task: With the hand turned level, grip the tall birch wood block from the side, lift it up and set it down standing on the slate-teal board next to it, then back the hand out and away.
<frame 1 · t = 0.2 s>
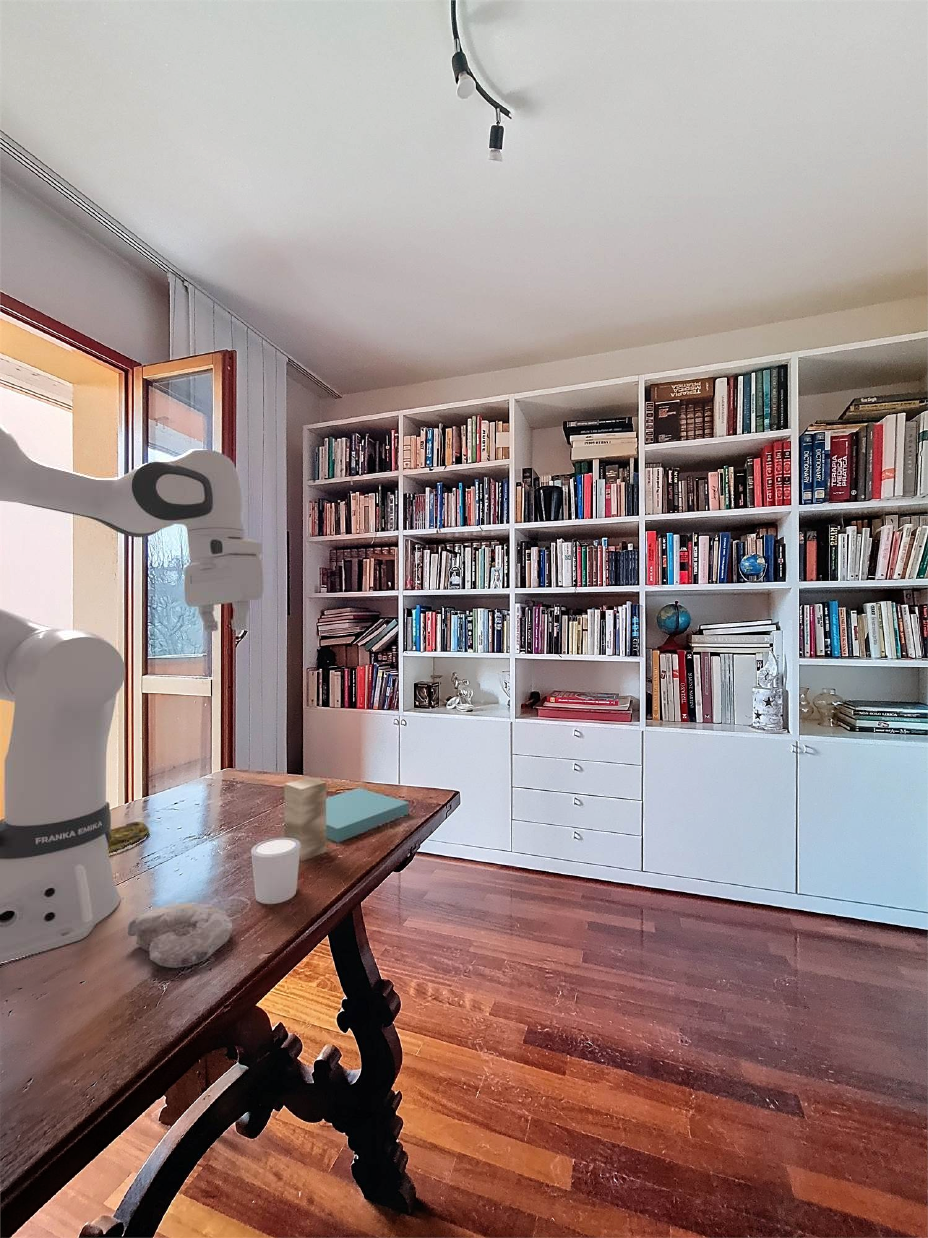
hand: (224, 630, 91), 39 cm above the table, tool pointing down, fingers open, 8 cm apart
shot glass: (276, 895, 78), on the table
teal board: (349, 818, 108), on the table
fossil: (181, 948, 66), on the table
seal: (117, 845, 97), on the table
birch block: (305, 852, 92), on the table
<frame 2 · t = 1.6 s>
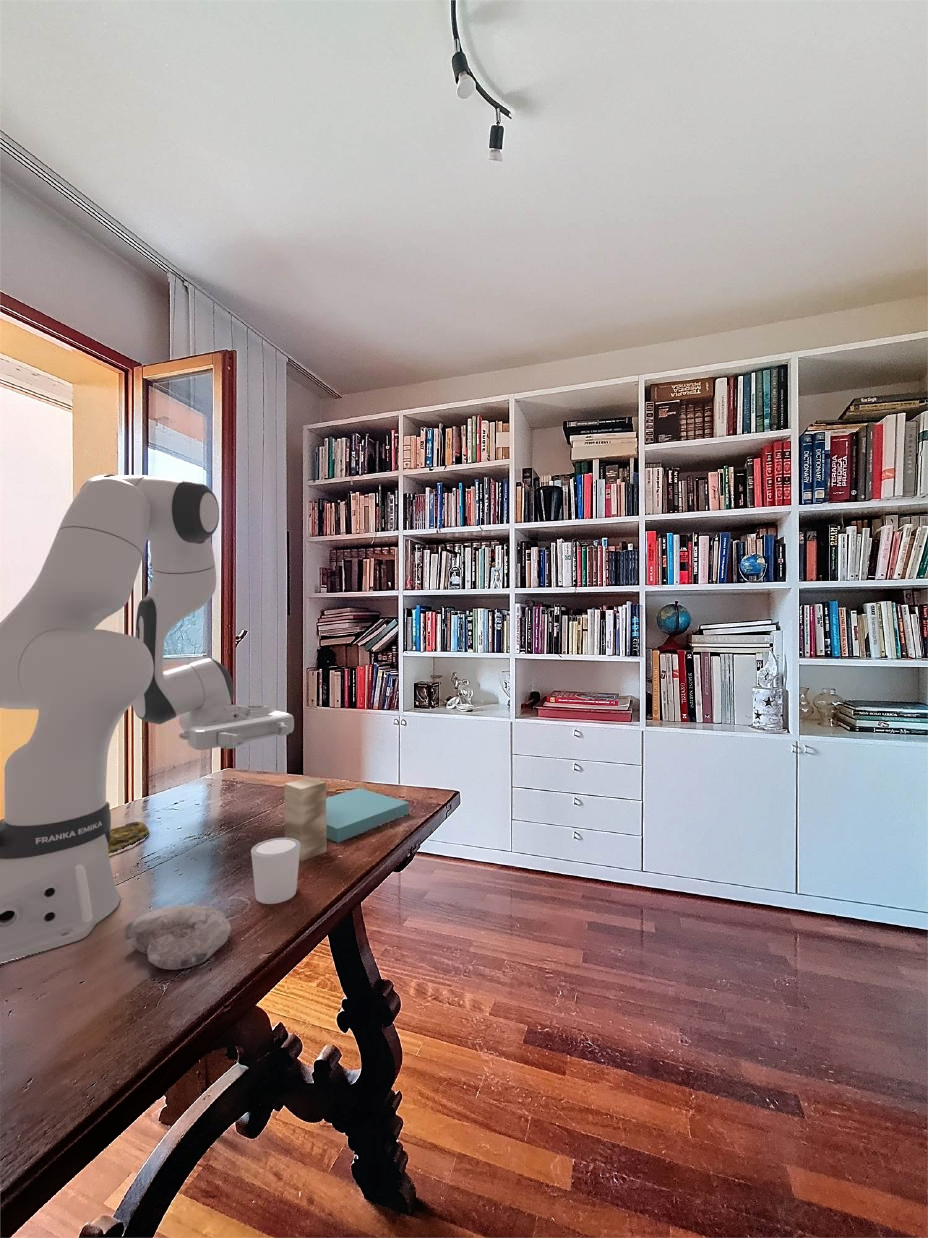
hand: (263, 735, 102), 18 cm above the table, tool horizontal, fingers open, 8 cm apart
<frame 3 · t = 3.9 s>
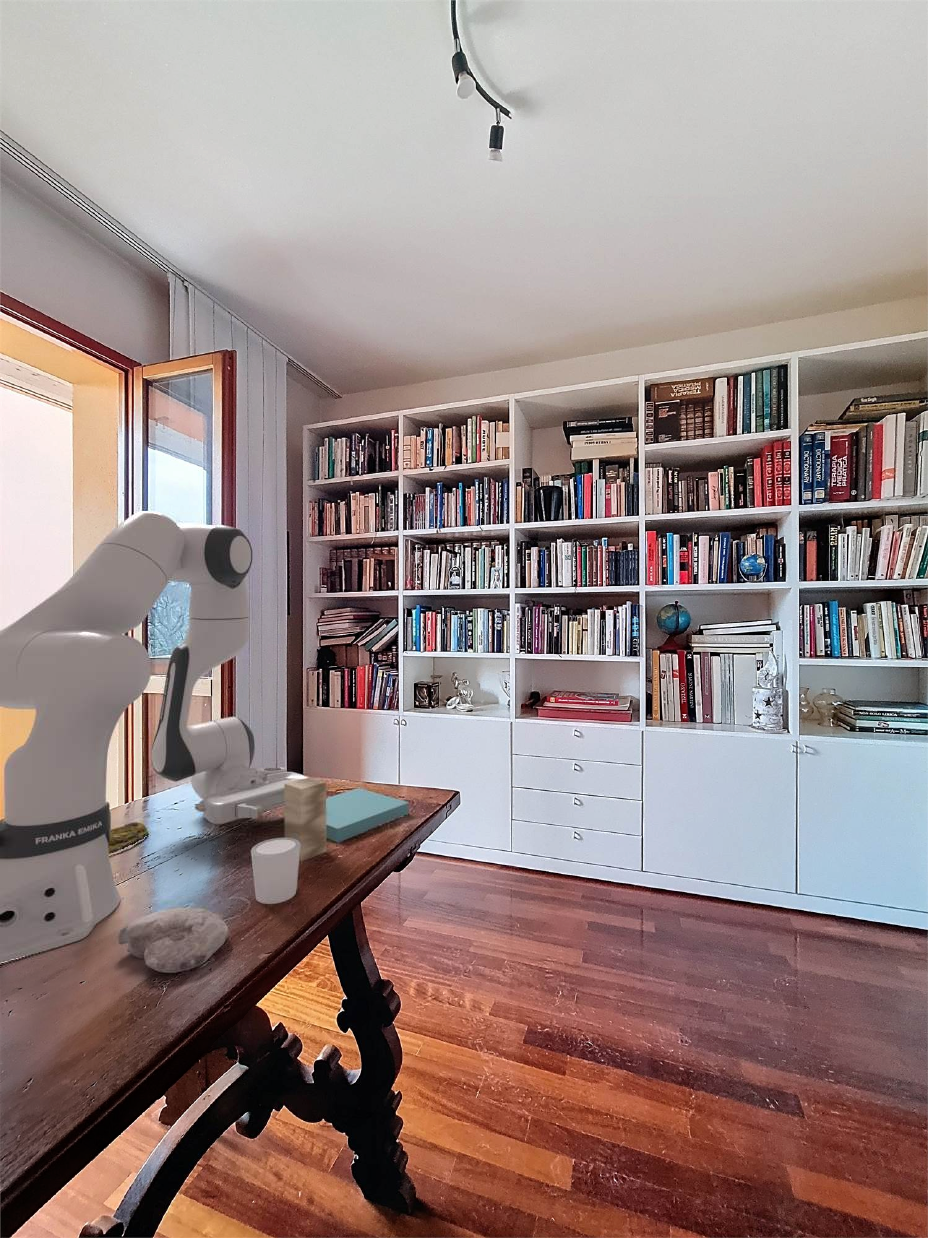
hand: (283, 806, 97), 7 cm above the table, tool horizontal, fingers open, 8 cm apart
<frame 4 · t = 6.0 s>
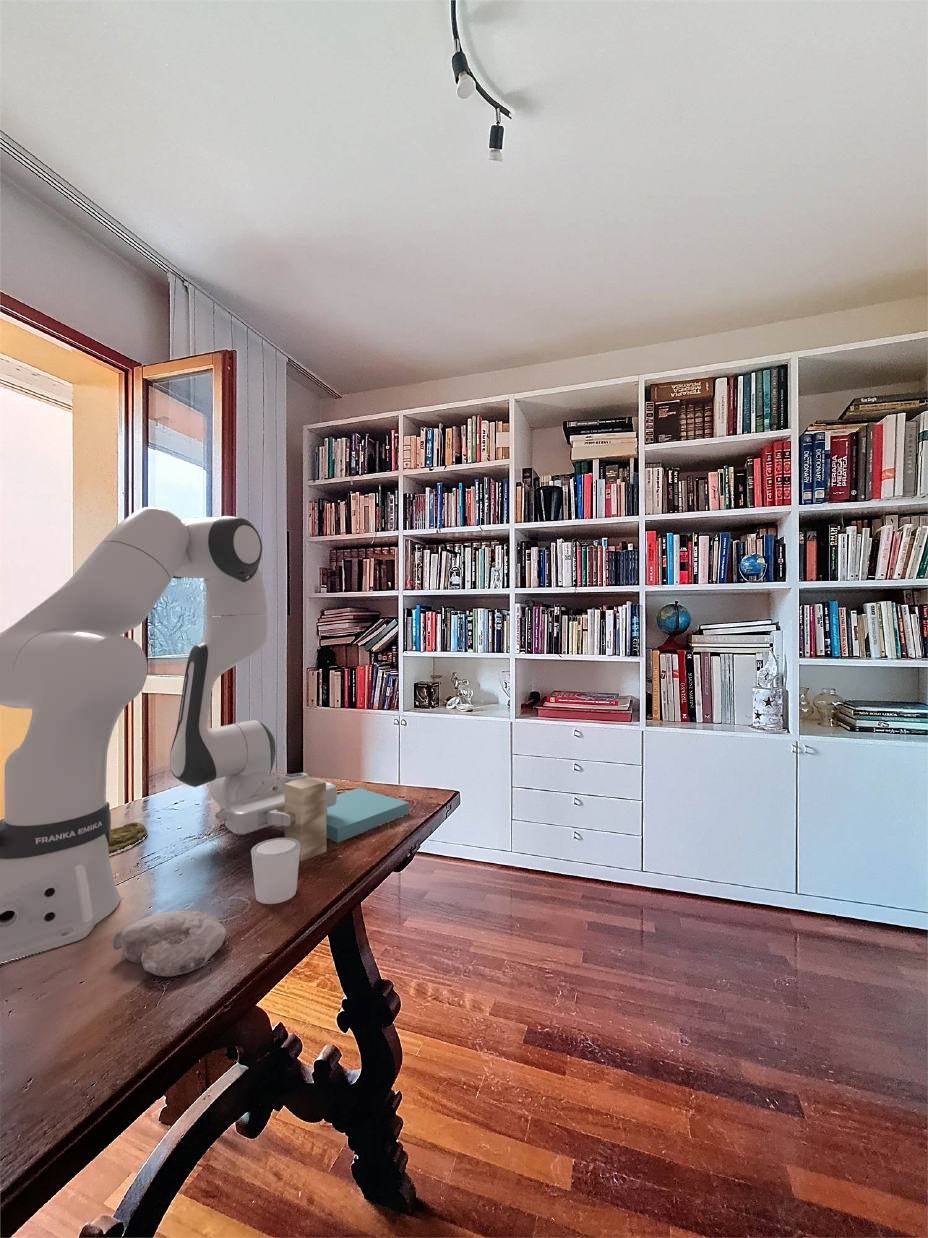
hand: (308, 815, 92), 7 cm above the table, tool horizontal, fingers closed on birch block, 5 cm apart
birch block: (305, 852, 92), on the table, touching gripper
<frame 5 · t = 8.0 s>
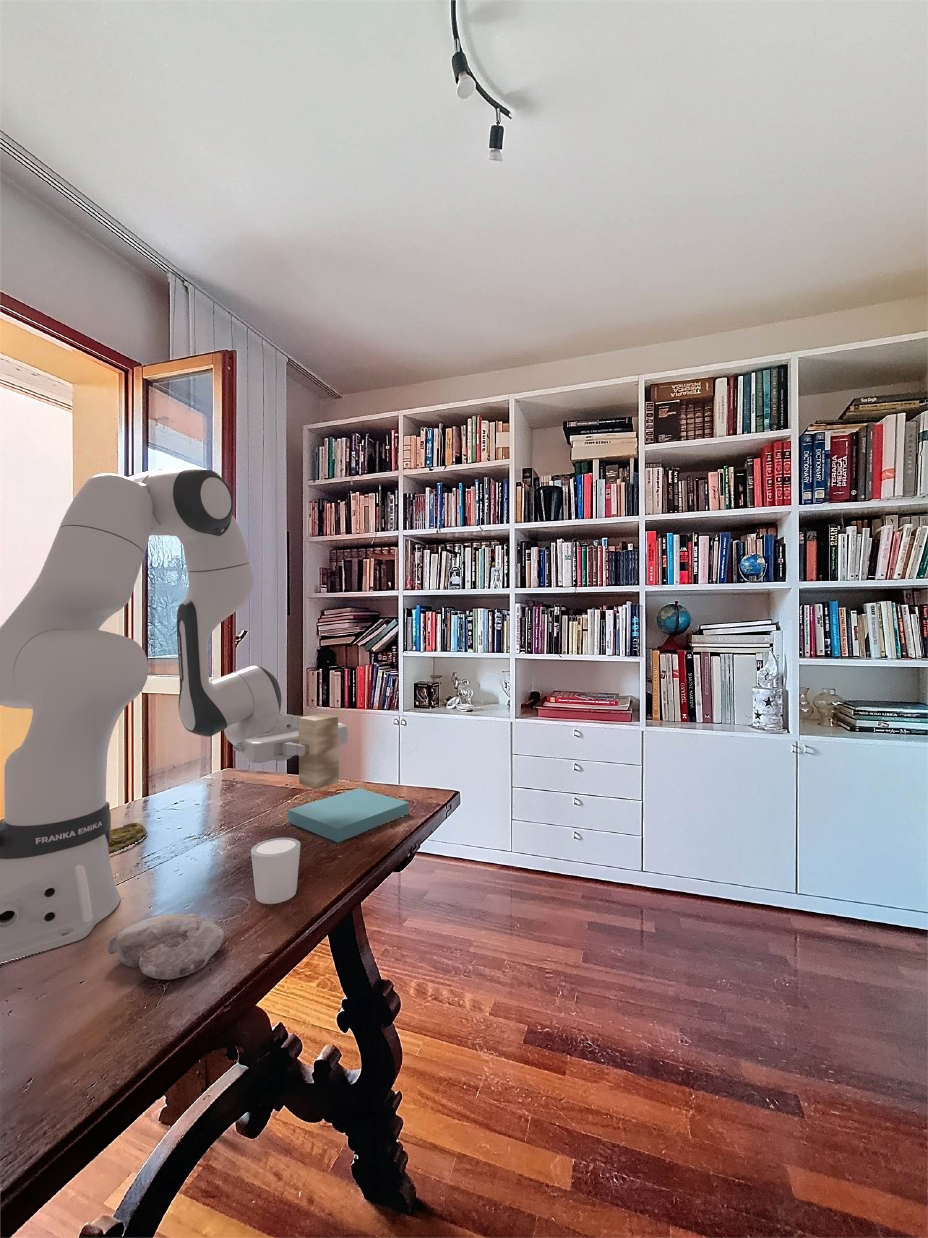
hand: (321, 747, 96), 17 cm above the table, tool horizontal, fingers closed on birch block, 5 cm apart
birch block: (319, 783, 97), point 11 cm above the table, touching gripper
when the fingers open (11 cm above the table, at t = 10.3 s): birch block drops 2 cm, resting on teal board.
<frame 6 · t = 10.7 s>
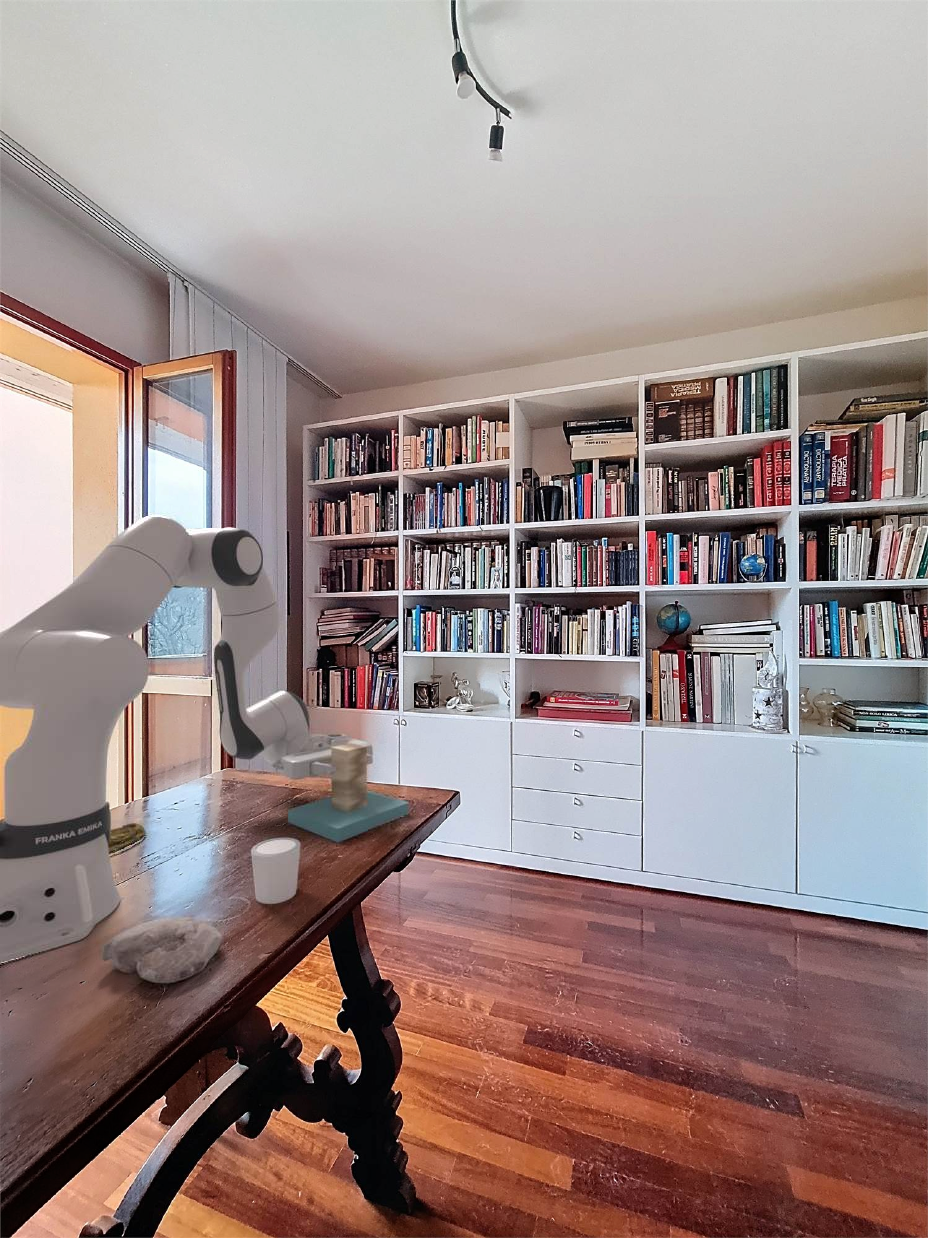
hand: (352, 765, 108), 11 cm above the table, tool horizontal, fingers open, 8 cm apart
birch block: (349, 806, 108), point 3 cm above the table, touching teal board
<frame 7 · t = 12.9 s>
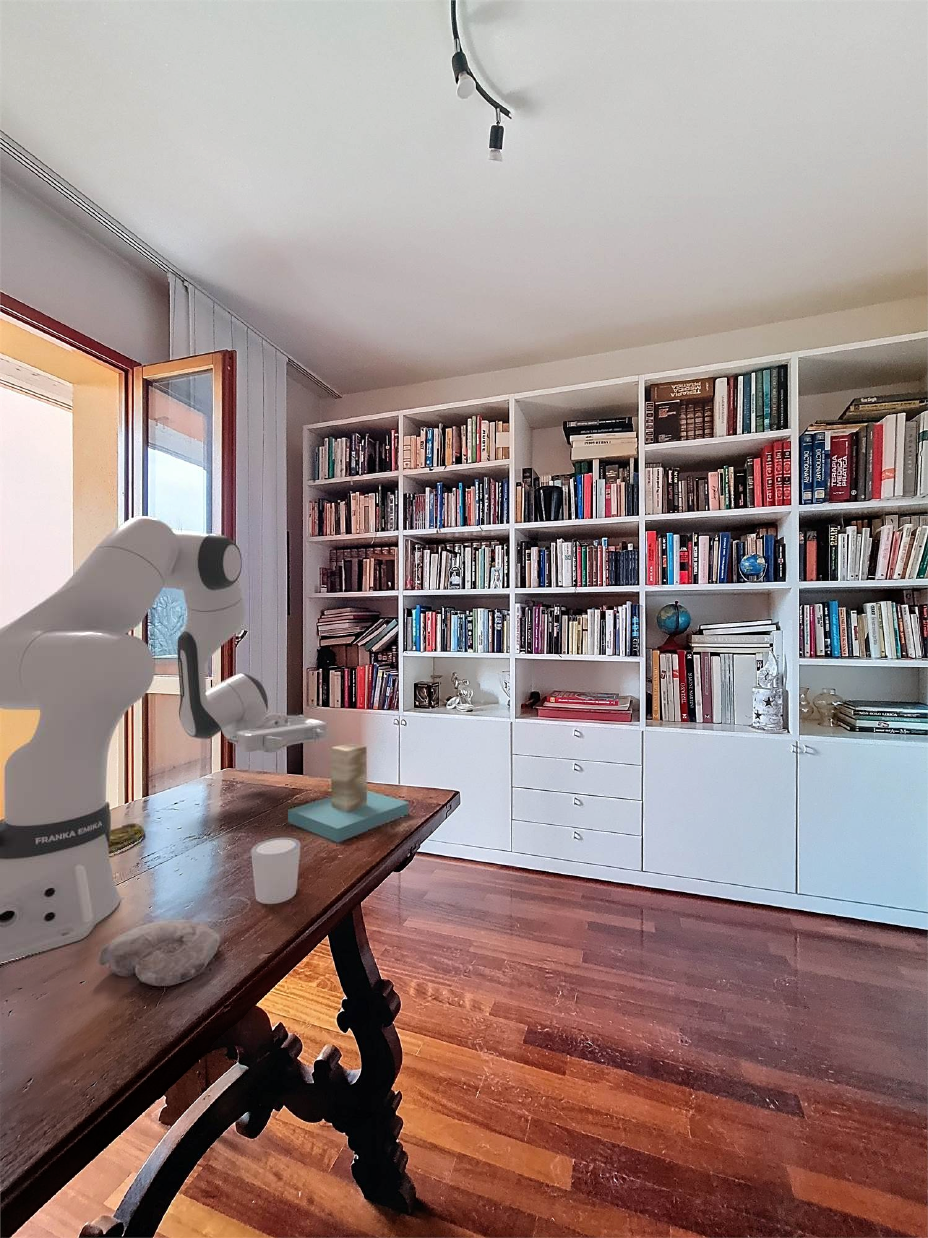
hand: (303, 739, 114), 15 cm above the table, tool horizontal, fingers open, 8 cm apart
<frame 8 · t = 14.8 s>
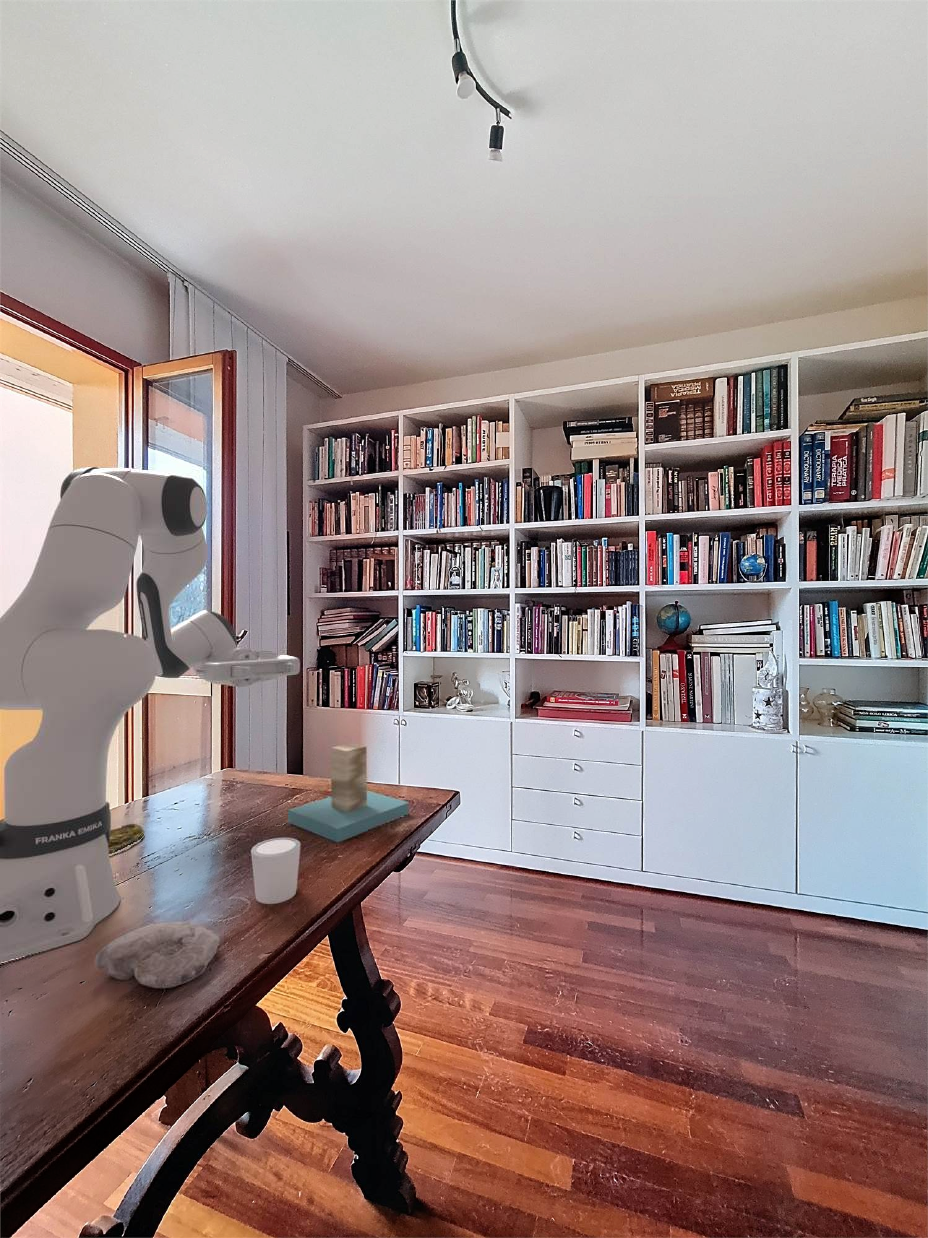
hand: (272, 670, 112), 30 cm above the table, tool horizontal, fingers open, 8 cm apart
at the end: birch block inside the target area on the teal board (0.1 cm from its centre), point 2.5 cm above the teal board's base; birch block tilted 0°; the gripper is holding nothing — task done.
